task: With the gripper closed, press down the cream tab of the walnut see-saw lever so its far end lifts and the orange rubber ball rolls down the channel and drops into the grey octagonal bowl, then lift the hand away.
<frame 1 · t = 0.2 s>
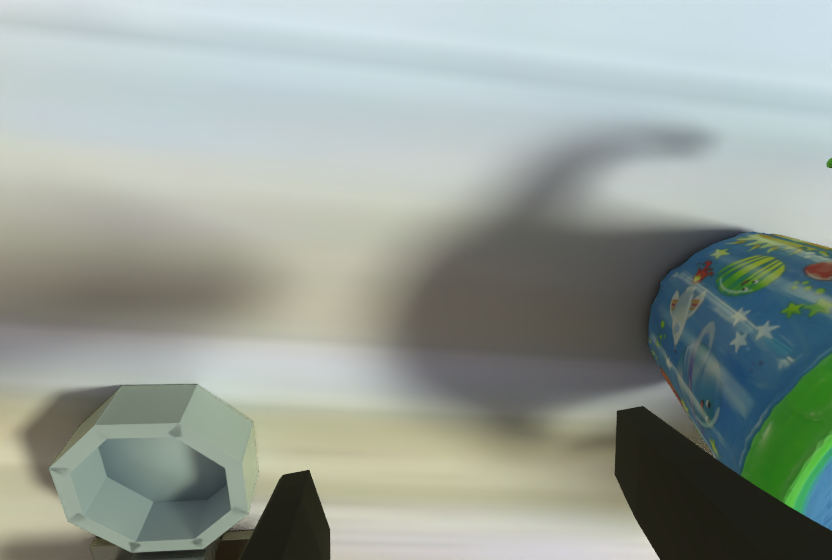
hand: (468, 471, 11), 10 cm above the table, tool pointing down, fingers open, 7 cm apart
grey octagonal bowl: (173, 449, 23), on the table
snack cup: (717, 302, 23), on the table
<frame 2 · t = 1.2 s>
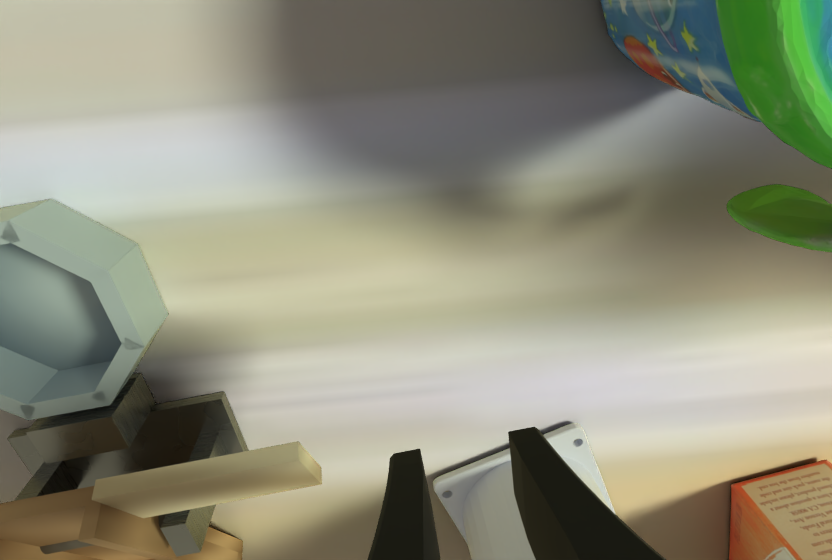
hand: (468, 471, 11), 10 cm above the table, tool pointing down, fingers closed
grey octagonal bowl: (58, 297, 19), on the table
cracker box: (764, 542, 31), on the table
fulcrum: (142, 452, 23), on the table
lever: (197, 544, 20), point 4 cm above the table, hinge at -27.8°, touching ball
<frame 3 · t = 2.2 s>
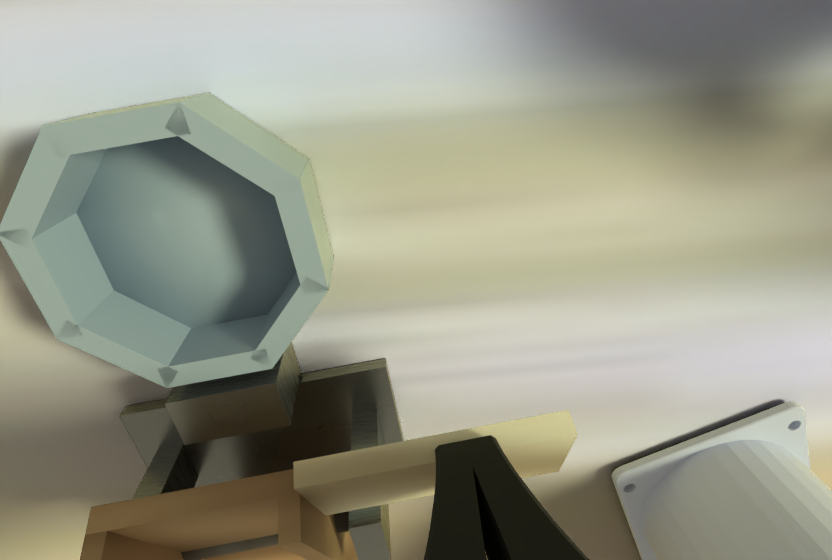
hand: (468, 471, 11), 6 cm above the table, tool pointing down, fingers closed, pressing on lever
grey octagonal bowl: (200, 231, 15), on the table
fulcrum: (276, 435, 18), on the table
lever: (367, 549, 16), point 4 cm above the table, hinge at -27.7°, touching ball, gripper
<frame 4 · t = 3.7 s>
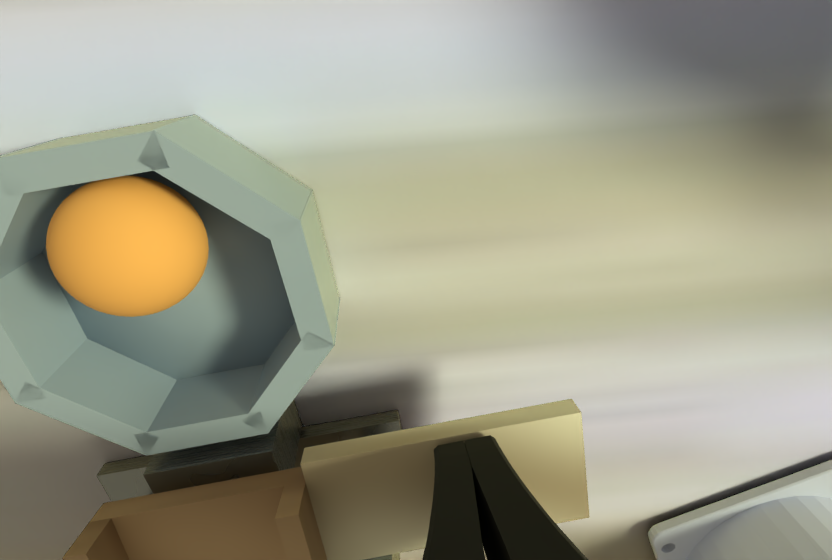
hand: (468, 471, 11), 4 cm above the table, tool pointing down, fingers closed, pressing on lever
grey octagonal bowl: (186, 271, 13), on the table
ball: (133, 246, 11), point 2 cm above the table, tilted 81°, touching grey octagonal bowl
fulcrum: (274, 493, 16), on the table
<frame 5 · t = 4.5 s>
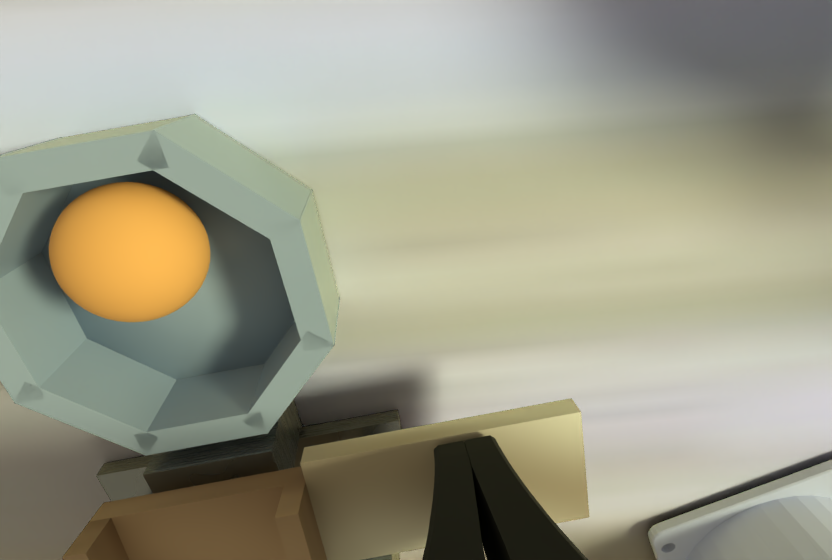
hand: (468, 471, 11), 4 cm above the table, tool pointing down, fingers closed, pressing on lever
grey octagonal bowl: (186, 271, 13), on the table
ball: (135, 252, 11), point 2 cm above the table, tilted 87°, touching grey octagonal bowl
fulcrum: (274, 493, 16), on the table
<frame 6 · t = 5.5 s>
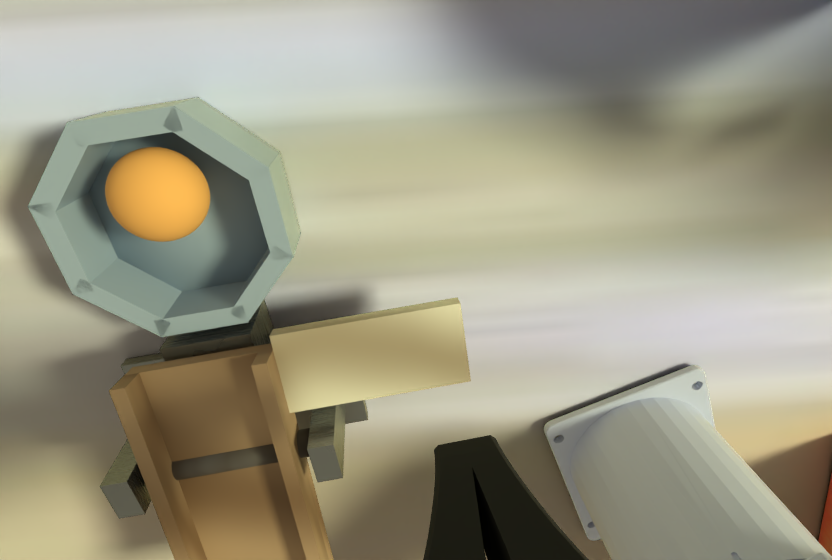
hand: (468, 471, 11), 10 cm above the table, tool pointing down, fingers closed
grey octagonal bowl: (190, 210, 18), on the table
ball: (159, 195, 16), point 2 cm above the table, tilted 94°, touching grey octagonal bowl
fulcrum: (253, 387, 22), on the table
lever: (323, 494, 18), point 5 cm above the table, hinge at 8.6°
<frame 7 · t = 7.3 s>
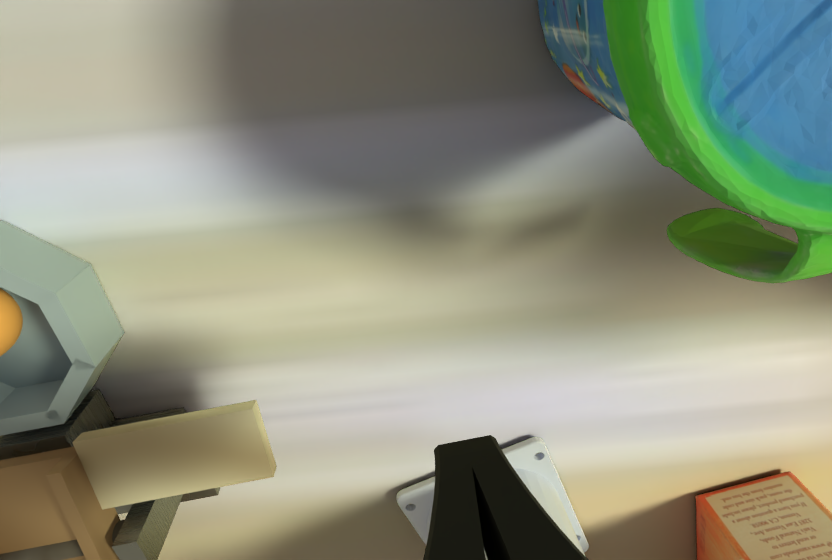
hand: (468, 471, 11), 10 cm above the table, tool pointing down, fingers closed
grey octagonal bowl: (13, 316, 19), on the table
cracker box: (732, 552, 31), on the table
fulcrum: (104, 467, 23), on the table
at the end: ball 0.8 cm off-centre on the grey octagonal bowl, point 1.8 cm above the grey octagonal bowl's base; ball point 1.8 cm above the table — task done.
